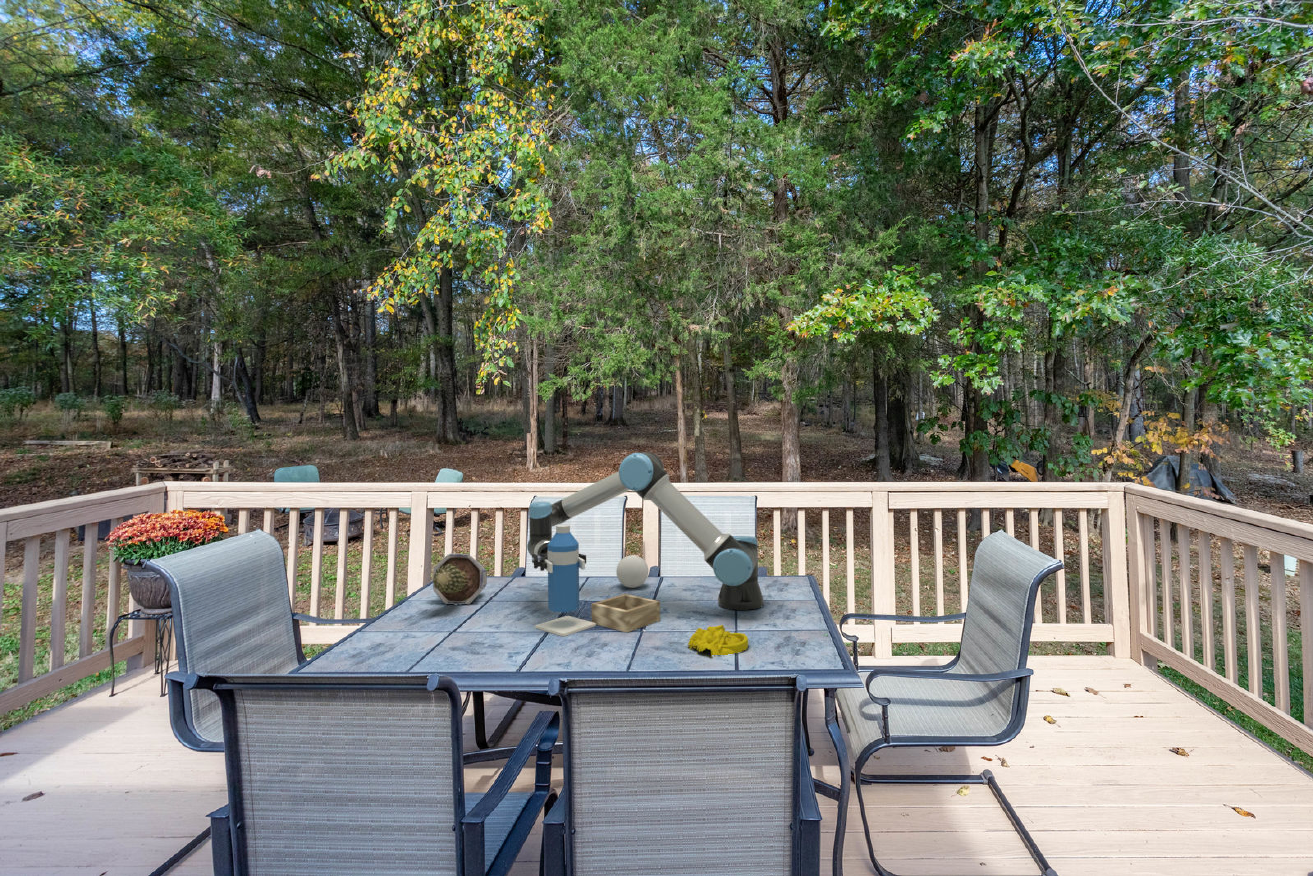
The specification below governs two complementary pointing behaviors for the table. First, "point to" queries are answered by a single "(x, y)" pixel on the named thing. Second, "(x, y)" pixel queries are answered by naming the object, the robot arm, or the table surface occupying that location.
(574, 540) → the water bottle
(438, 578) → the potted plant
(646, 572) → the decorative ball
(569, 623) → the plate
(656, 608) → the holder collar
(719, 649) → the door knocker
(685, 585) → the table surface
